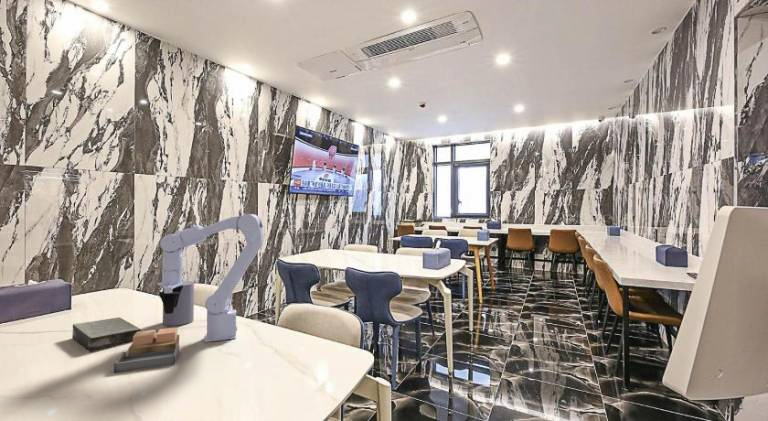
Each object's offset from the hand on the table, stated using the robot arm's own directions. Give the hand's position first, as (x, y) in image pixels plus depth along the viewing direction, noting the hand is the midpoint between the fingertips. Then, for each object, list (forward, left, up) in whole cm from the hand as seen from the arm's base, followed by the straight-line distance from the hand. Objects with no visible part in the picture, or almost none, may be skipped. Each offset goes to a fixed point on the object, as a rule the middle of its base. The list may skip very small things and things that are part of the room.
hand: (171, 310), depth 118 cm
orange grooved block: (+3, +9, -10) cm, 14 cm away
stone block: (+20, -9, -11) cm, 24 cm away
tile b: (+6, +8, -7) cm, 12 cm away
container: (0, -20, -10) cm, 22 cm away
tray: (+3, +18, -10) cm, 20 cm away
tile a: (0, +8, -7) cm, 10 cm away
